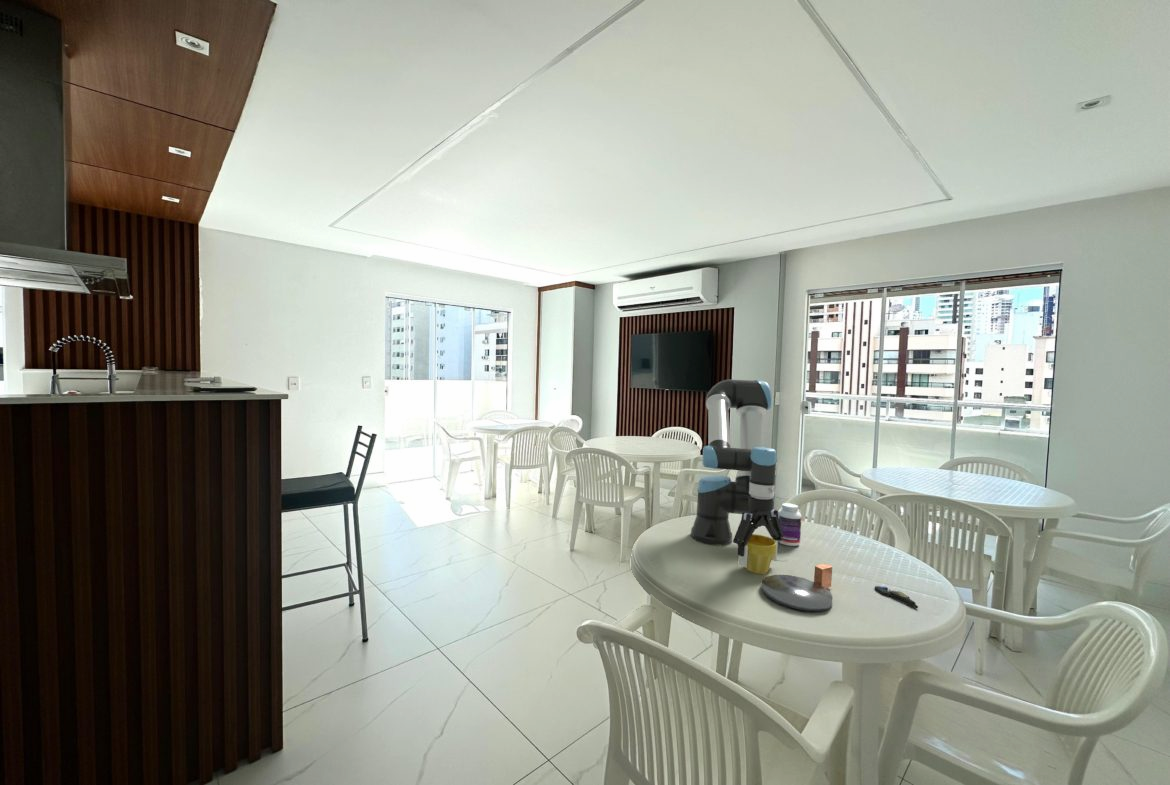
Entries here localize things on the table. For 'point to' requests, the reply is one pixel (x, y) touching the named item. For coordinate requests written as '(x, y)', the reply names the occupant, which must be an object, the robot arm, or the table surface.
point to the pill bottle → (790, 524)
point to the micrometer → (896, 595)
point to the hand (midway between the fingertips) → (757, 562)
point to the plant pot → (760, 553)
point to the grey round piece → (801, 590)
